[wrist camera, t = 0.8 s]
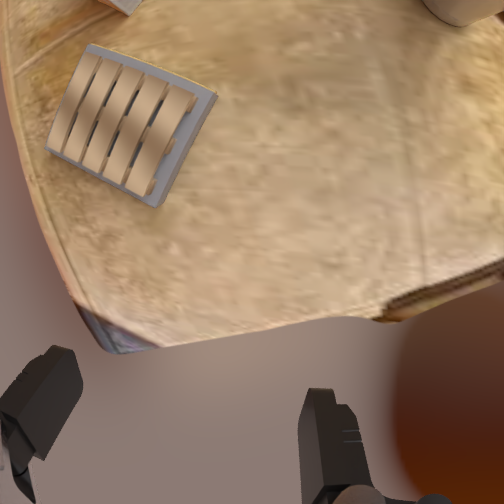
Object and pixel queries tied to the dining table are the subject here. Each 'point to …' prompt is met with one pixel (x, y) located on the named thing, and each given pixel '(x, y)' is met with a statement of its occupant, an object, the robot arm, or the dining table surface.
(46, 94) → the dining table surface
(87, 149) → the pallet
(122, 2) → the small box
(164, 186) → the rack
